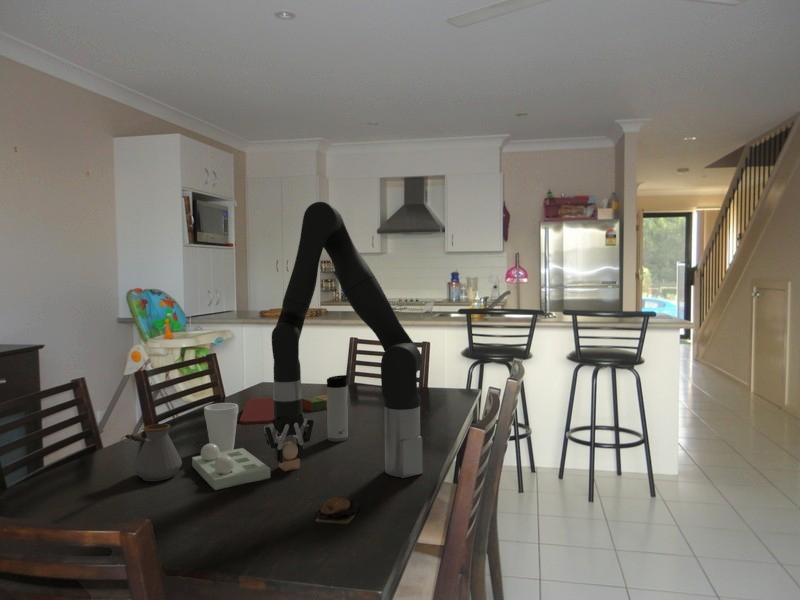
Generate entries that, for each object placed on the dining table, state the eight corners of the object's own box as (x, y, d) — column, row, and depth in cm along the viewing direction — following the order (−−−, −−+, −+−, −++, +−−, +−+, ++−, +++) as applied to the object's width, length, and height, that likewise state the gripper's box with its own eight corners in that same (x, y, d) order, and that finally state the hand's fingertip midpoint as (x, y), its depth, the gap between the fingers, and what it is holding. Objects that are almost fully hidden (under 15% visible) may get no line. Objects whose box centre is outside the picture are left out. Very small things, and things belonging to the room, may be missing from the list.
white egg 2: (237, 475, 146) (236, 456, 146) (217, 479, 143) (217, 459, 143) (231, 470, 150) (230, 451, 150) (212, 473, 147) (211, 454, 147)
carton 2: (275, 433, 204) (282, 406, 228) (274, 420, 203) (281, 394, 227) (239, 435, 203) (250, 407, 227) (238, 421, 202) (249, 395, 226)
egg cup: (299, 468, 156) (299, 459, 156) (285, 471, 153) (284, 462, 153) (293, 464, 159) (293, 455, 159) (278, 467, 157) (278, 457, 157)
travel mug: (345, 442, 179) (344, 377, 178) (324, 441, 180) (323, 376, 179) (351, 436, 185) (350, 373, 184) (331, 435, 186) (330, 373, 185)
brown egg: (301, 460, 155) (300, 442, 155) (284, 463, 153) (283, 445, 152) (294, 455, 159) (293, 438, 159) (277, 459, 157) (276, 441, 156)
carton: (348, 406, 228) (348, 395, 228) (312, 413, 218) (311, 401, 218) (336, 402, 234) (336, 392, 234) (301, 408, 224) (300, 397, 224)
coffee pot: (147, 468, 157) (145, 413, 157) (189, 468, 157) (188, 413, 156) (103, 499, 136) (100, 435, 135) (151, 500, 135) (149, 435, 135)
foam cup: (229, 443, 179) (228, 401, 178) (245, 450, 172) (243, 406, 172) (199, 450, 172) (198, 406, 172) (214, 457, 166) (213, 411, 165)
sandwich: (350, 527, 121) (350, 509, 121) (311, 524, 123) (311, 507, 122) (363, 506, 132) (363, 490, 131) (327, 503, 133) (326, 488, 133)
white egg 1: (222, 462, 156) (221, 444, 156) (203, 465, 153) (203, 447, 153) (216, 457, 160) (216, 440, 160) (198, 460, 157) (198, 443, 157)
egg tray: (270, 478, 149) (270, 468, 149) (214, 490, 141) (214, 479, 141) (243, 456, 166) (242, 448, 166) (192, 466, 158) (191, 457, 158)
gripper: (267, 403, 148) (268, 469, 149) (318, 395, 156) (320, 459, 157) (256, 398, 154) (258, 462, 155) (306, 391, 162) (308, 452, 163)
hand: (289, 460), depth 156 cm, fingers closed on brown egg, 4 cm apart
